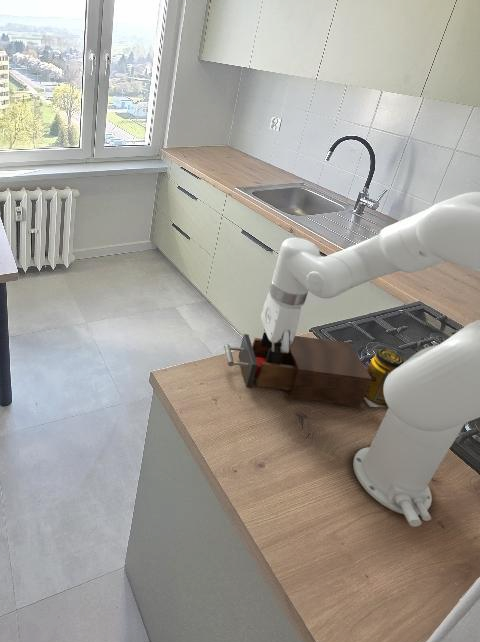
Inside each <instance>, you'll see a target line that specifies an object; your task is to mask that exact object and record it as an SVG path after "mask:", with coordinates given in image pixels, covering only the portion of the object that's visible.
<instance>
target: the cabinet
mask: <svg viewBox="0 0 480 642" xmlns="http://www.w3.org/2000/svg"><path fill="white" fill-rule="evenodd" d="M289 351H290V353H291V356H292V358H293V360H294V363H295V365H296V368H297V371H296V374H295V377H294V380H293V384H292V387H291V390H286V393H287V396H288V398H289V399H290V400H299V401H305V402H313V403H320V404H327V405H335V406H336V405H337V406H342V407H349V408H357V409H360V408H361V406H362V403H363V401H364V400H365V399H364V397H365V394H366V392H367V390H368V387H369V385H370V383H371V380H372V378H371V376H370V375H369V373H368V371H367V368H366V366H365V364H364V363H363V361H362V360H361V358H360V356H359V355H358V352H357V351H356V350H355V349H354V347H353V345H352V344H351V342H350V341H349V342H348V341H341V340H333V339H332V340H331V339H324V338H317V337H309V336H300V335H295V337H294V340H293V342H292V343H291V344H290V345H289Z"/></svg>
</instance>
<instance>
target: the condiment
mask: <svg viewBox="0 0 480 642" xmlns="http://www.w3.org/2000/svg"><path fill="white" fill-rule="evenodd" d="M404 362H405V361H404V359H403V357H402V356H401V355H400V354H398V353H397V352H395V351H393V350H391V349H388V348H380V349H377V350H376V353H375V355H374V357H372V358H371V360H370V363H369V364H368V367H367V368H366V370H367V371H368V373H369V375H370V376H371V378H372V380H371V383H370V385H369V387H368V390H367V392H366V394H365V397H364V399H363V400H364V401H365V402H366V403H367V405H368V406H369V407H370V408H389V407H388V405H387V403H386V401H385V398H384V393H383V387H384V382H385V380H386V378H387V376H388V375H389V374H390V373H391V372H392V371H393V370H394V369H396V368H397V367H399V366H400V365H402V364H403V363H404Z"/></svg>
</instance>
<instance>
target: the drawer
mask: <svg viewBox="0 0 480 642" xmlns="http://www.w3.org/2000/svg"><path fill="white" fill-rule="evenodd" d="M261 341H262V338H259V337H254V338H253V341H252V342H251V338H250V335H249V334H248V333H243V336H242V340H241V344H240V347H239V346H238V347H237V346H230V344H228V343H226V344H224V346H223V348H224V349H223V350H224V352H225V353H224V354H225V358H226V362H227V365H228V367H233V366H240V368H241V373H242V377H243V380H244V384H245V388H247V389H252V387H253V383H254V381H255V384H256V387H261V388H263V387H264V388H269V389H277V390H284V391H287V390H291V387H292V384H293V380H294V377H295V374H296V371H297V368H296V365H295V363H294V360H293V358H292V356H291V353H290V351H289V353H288V354H287V353H284V354H283V358H282V361H281V363H282V364H275V363H267V362H262V364H261V367H260V371H259V375H256V374H255V373H256V369H257V366H258V364H257V361H256V358H255V357H259V358H267V355H268V352H269V348H268V347H262V346H261ZM276 346H280V347H281V343H276ZM232 351H236V352H238V360H239V361H236V360H234V358H233V354H232ZM239 351H240V352H239Z"/></svg>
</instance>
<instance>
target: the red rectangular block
mask: <svg viewBox="0 0 480 642" xmlns="http://www.w3.org/2000/svg"><path fill="white" fill-rule="evenodd" d="M255 358H256V361H257V364H258V366H257V369H256V373H255V374H256V375H259V371H260V367H261V364H262V362H266V359H267V358H259V357H255ZM281 364H282V363H281Z"/></svg>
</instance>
